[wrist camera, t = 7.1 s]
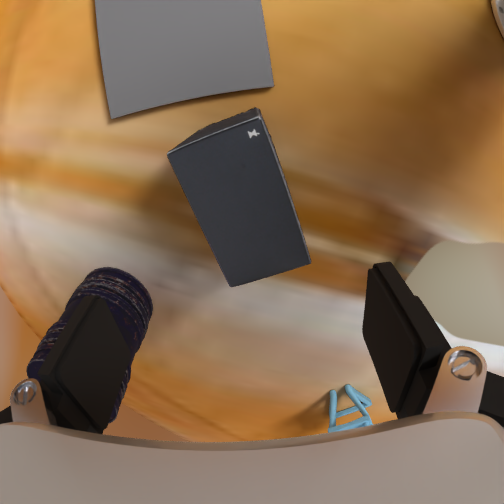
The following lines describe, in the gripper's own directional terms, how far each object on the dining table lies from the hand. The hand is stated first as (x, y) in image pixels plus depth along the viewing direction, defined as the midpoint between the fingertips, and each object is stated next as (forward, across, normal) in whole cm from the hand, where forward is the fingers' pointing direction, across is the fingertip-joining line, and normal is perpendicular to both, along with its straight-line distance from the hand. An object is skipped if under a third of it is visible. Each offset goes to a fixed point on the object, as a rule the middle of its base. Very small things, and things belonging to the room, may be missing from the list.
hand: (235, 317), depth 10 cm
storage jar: (+20, +18, +13) cm, 30 cm away
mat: (+20, +4, -17) cm, 26 cm away
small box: (+20, 0, 0) cm, 20 cm away
